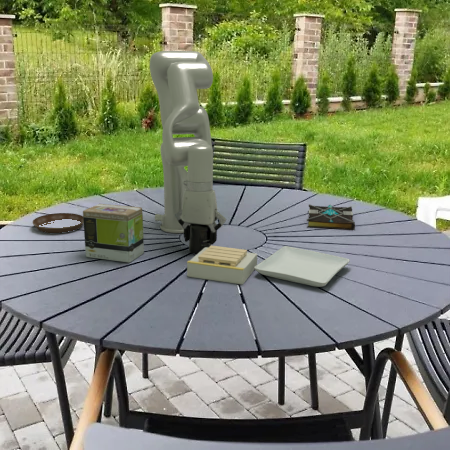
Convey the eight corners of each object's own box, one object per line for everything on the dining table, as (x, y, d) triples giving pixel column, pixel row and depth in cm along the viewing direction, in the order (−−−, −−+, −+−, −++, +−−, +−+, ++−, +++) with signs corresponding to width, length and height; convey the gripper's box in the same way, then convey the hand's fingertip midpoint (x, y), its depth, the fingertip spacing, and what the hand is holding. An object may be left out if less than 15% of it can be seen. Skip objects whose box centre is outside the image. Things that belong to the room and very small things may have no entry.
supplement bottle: (208, 256, 174) (208, 218, 171) (186, 254, 176) (186, 217, 172) (213, 249, 181) (213, 212, 177) (192, 247, 182) (192, 211, 179)
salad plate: (324, 294, 149) (325, 282, 148) (252, 278, 159) (252, 266, 158) (350, 269, 167) (351, 258, 166) (283, 255, 177) (284, 245, 176)
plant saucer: (89, 232, 196) (88, 224, 195) (35, 238, 190) (34, 229, 189) (81, 219, 212) (81, 211, 211) (31, 223, 205) (30, 215, 204)
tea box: (145, 253, 177) (143, 206, 172) (129, 264, 168) (127, 215, 163) (102, 247, 181) (99, 201, 177) (84, 257, 172) (81, 210, 168)
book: (354, 231, 201) (355, 218, 200) (306, 229, 204) (306, 215, 202) (351, 215, 222) (352, 202, 220) (307, 212, 224) (308, 200, 223)
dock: (187, 276, 159) (187, 257, 157) (205, 259, 172) (205, 242, 170) (242, 284, 154) (242, 265, 152) (256, 266, 167) (257, 248, 165)
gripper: (168, 186, 171) (169, 242, 177) (223, 191, 166) (222, 249, 171) (178, 181, 178) (179, 235, 183) (231, 185, 173) (230, 241, 178)
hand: (200, 241), depth 177 cm, fingers open, 7 cm apart
